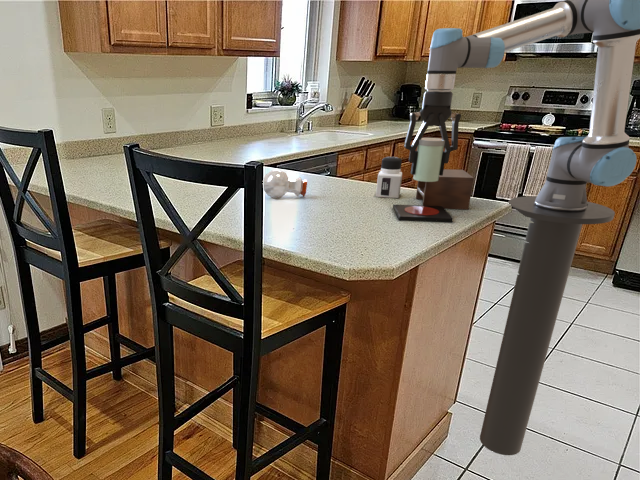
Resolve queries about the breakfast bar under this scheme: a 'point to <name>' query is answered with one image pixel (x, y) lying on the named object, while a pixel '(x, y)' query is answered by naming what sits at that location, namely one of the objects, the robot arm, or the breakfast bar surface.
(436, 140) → the jar
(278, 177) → the potion bottle
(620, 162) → the robot arm
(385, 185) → the container
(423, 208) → the hob plate
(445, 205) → the brown box
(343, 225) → the breakfast bar surface
